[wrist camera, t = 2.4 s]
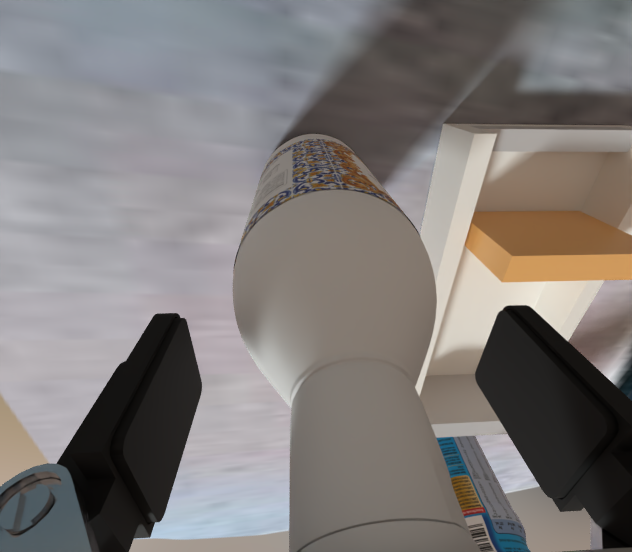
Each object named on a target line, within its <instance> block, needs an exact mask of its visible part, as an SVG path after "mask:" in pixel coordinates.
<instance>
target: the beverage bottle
mask: <svg viewBox="0 0 632 552" xmlns="http://www.w3.org/2000/svg"><path fill="white" fill-rule="evenodd" d="M436 439H437V441H438V444H439V446H440V449H441V452H442V454H443V457H444V460H445V462H446V465H447V468H448V471H449V474H450V478H451V482H452V486H453V489H454V492H455V494H456V497H457V500H458V502H459V505H460V507H461V510H462V513H463V515H464V518H465V520H466V523H467V525H468V528H469V531H470V533H471V536H472V538H473V540H474V541H475V542H476V543H477V545H478V547H479V548H480V551H481V552H530V550H529V549H528V547H527V545H526V535H525V530H524V528H523V525H522V523H521V521H520V519H519V517H518V516H517V514H516V513H515V512H514V511H513V509H512V507H511V505H510V503H509V501H508V499H507V497H506V495H505V494H504V492H503V490H502V488H501V486H500V484H499V482H498V480H497V478H496V476H495V474H494V472H493V470H492V468H491V466H490V465H489V463H488V461H487V459H486V457H485V455H484V453H483V451H482V449H481V447H480V445H479V443H478V441H477V439H476V437H475V436H459V437H440V438H436Z"/></svg>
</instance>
